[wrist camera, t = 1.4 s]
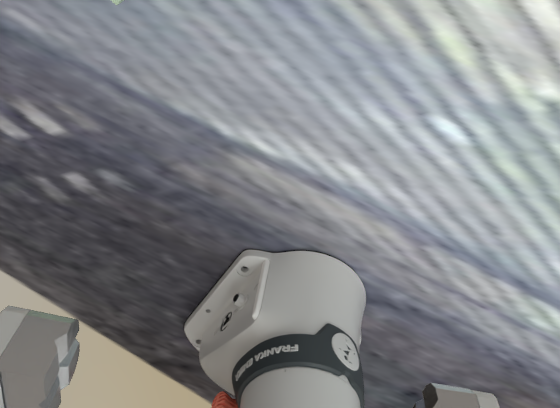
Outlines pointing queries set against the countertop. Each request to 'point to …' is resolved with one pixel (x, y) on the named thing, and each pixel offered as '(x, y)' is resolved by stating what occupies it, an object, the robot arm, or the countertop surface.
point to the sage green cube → (117, 1)
